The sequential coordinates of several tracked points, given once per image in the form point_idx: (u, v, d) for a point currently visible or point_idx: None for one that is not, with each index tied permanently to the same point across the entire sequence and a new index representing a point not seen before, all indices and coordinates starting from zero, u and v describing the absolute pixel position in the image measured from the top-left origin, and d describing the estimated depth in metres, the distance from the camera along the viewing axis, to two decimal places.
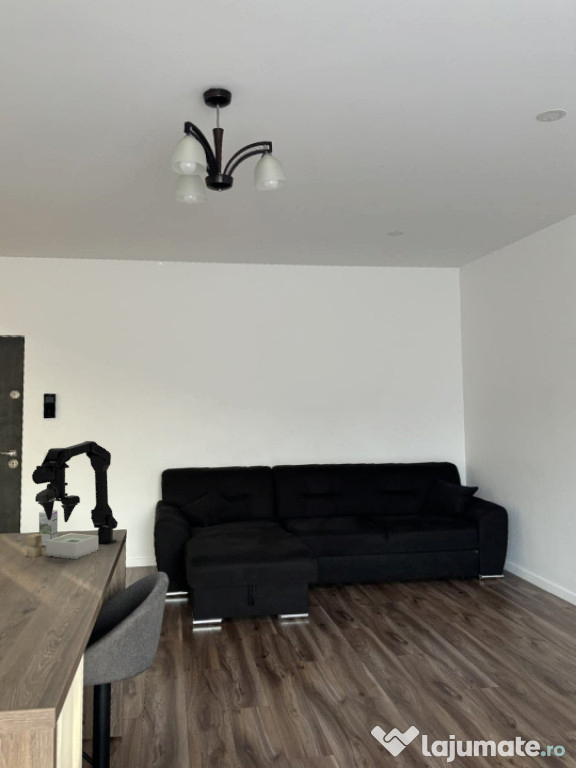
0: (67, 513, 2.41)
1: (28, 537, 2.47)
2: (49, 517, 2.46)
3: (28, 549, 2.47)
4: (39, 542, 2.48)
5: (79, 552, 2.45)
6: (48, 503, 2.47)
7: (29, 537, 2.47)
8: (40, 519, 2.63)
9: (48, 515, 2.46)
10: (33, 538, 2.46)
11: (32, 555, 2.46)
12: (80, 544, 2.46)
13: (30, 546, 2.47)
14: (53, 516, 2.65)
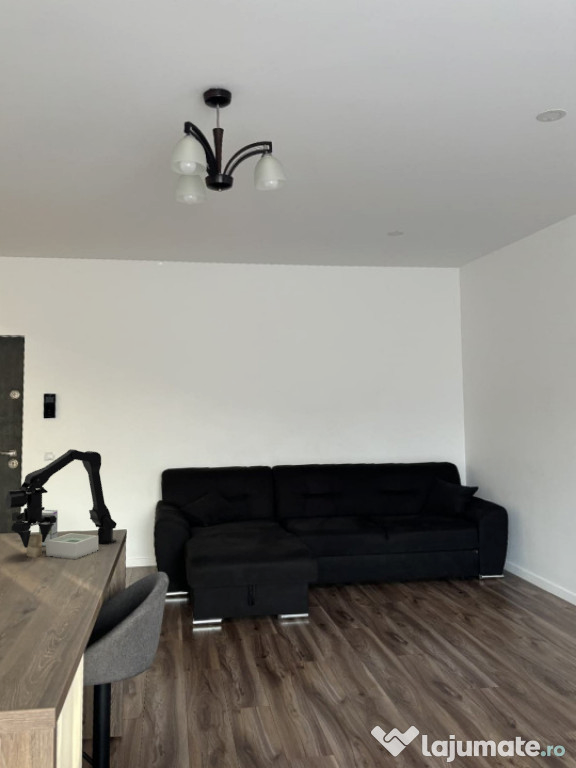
0: (23, 539, 2.43)
1: None
2: (42, 539, 2.53)
3: (28, 549, 2.47)
4: (39, 542, 2.48)
5: (79, 552, 2.45)
6: (43, 526, 2.53)
7: None
8: None
9: None
10: (33, 538, 2.46)
11: (32, 555, 2.46)
12: (80, 544, 2.46)
13: (30, 546, 2.47)
14: None
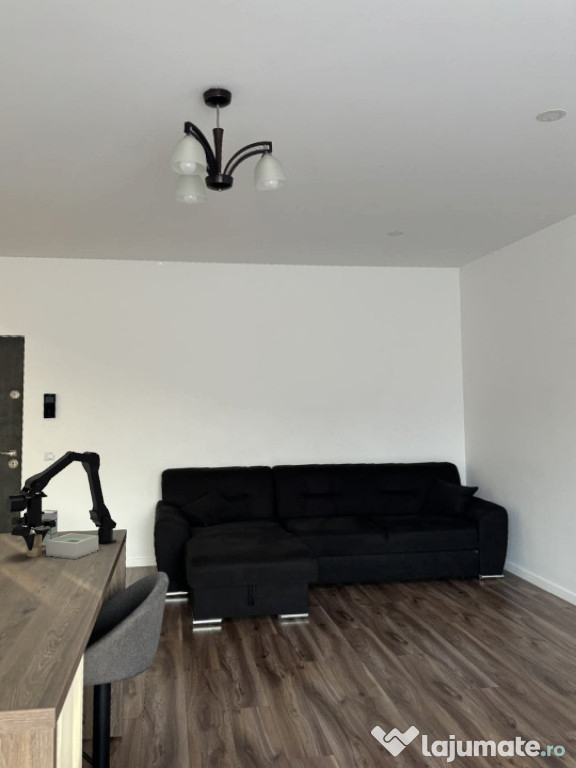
0: (27, 542, 2.46)
1: None
2: None
3: (28, 549, 2.47)
4: (39, 542, 2.48)
5: (79, 552, 2.45)
6: (39, 531, 2.51)
7: None
8: None
9: None
10: None
11: (32, 555, 2.46)
12: (80, 544, 2.46)
13: None
14: (53, 516, 2.65)
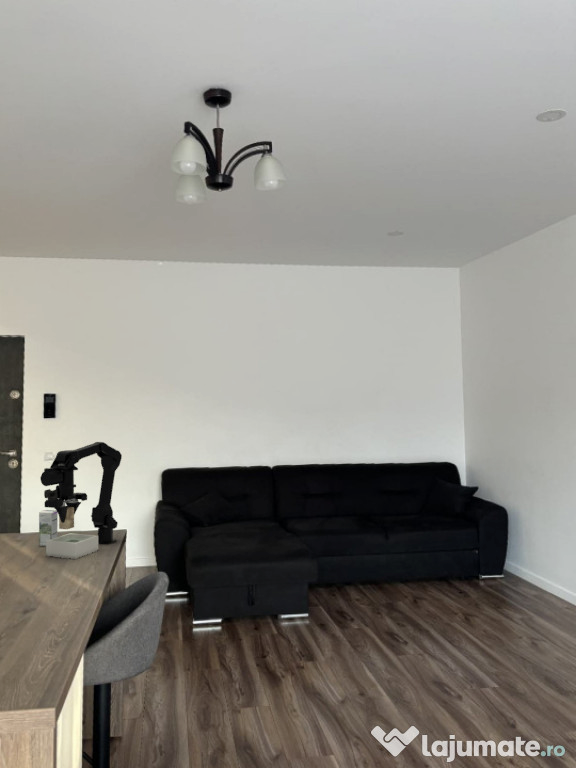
0: (60, 514, 2.49)
1: None
2: None
3: None
4: (71, 515, 2.51)
5: (79, 552, 2.45)
6: (71, 504, 2.54)
7: None
8: (40, 519, 2.63)
9: None
10: None
11: (65, 527, 2.49)
12: (80, 544, 2.46)
13: None
14: (53, 516, 2.65)
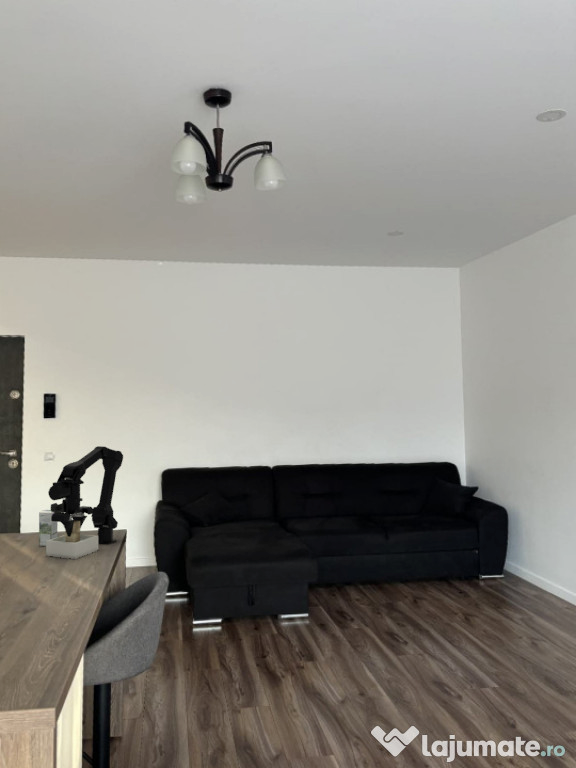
0: (66, 528, 2.49)
1: None
2: None
3: None
4: (77, 528, 2.52)
5: (79, 552, 2.45)
6: (77, 518, 2.55)
7: None
8: (40, 519, 2.63)
9: None
10: None
11: (71, 541, 2.50)
12: (80, 544, 2.46)
13: None
14: None
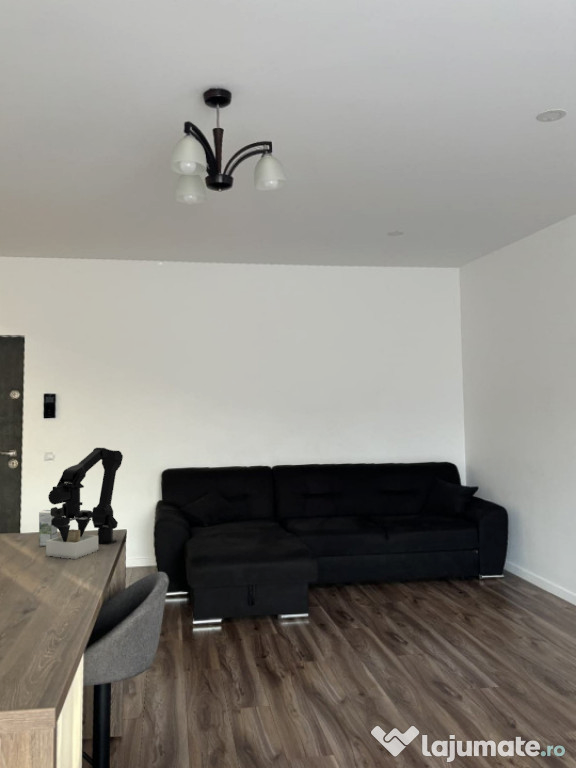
0: (62, 533, 2.47)
1: None
2: None
3: None
4: (77, 537, 2.52)
5: (79, 552, 2.45)
6: (80, 521, 2.57)
7: None
8: (40, 519, 2.63)
9: None
10: (72, 533, 2.50)
11: None
12: (80, 544, 2.46)
13: (69, 541, 2.50)
14: (53, 516, 2.65)
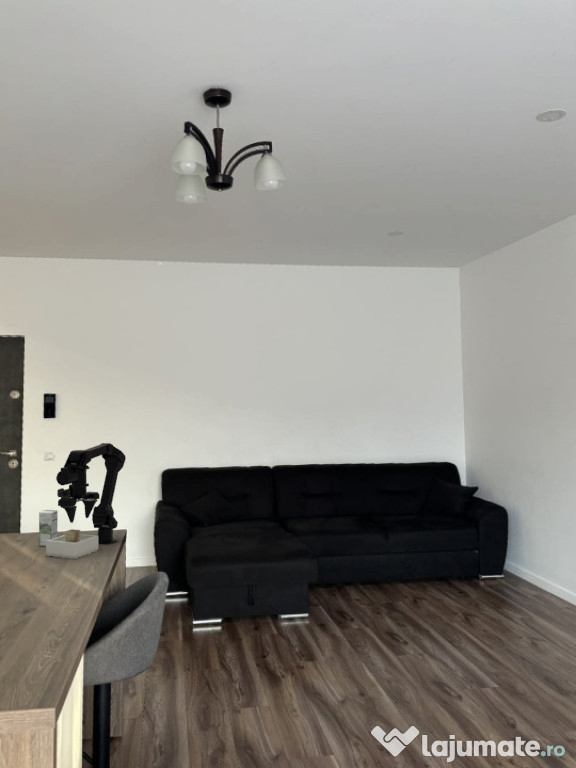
0: (68, 514, 2.49)
1: (67, 532, 2.50)
2: (86, 515, 2.58)
3: None
4: (77, 537, 2.52)
5: (79, 552, 2.45)
6: (87, 502, 2.59)
7: (68, 532, 2.50)
8: (40, 519, 2.63)
9: (85, 513, 2.58)
10: (72, 533, 2.50)
11: None
12: (80, 544, 2.46)
13: (69, 541, 2.50)
14: (53, 516, 2.65)
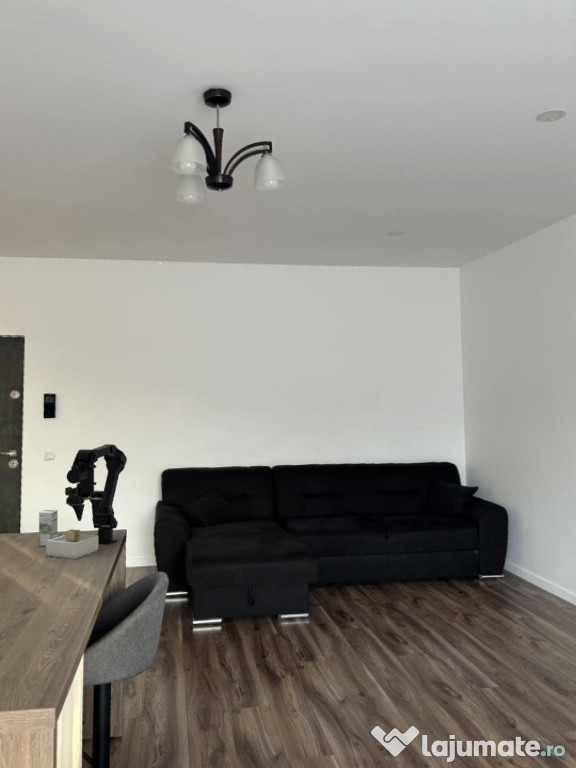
0: (76, 512, 2.50)
1: (67, 532, 2.50)
2: (93, 514, 2.60)
3: None
4: (77, 537, 2.52)
5: (79, 552, 2.45)
6: (94, 501, 2.61)
7: (68, 532, 2.50)
8: (40, 519, 2.63)
9: (92, 512, 2.60)
10: (72, 533, 2.50)
11: None
12: (80, 544, 2.46)
13: (69, 541, 2.50)
14: (53, 516, 2.65)
